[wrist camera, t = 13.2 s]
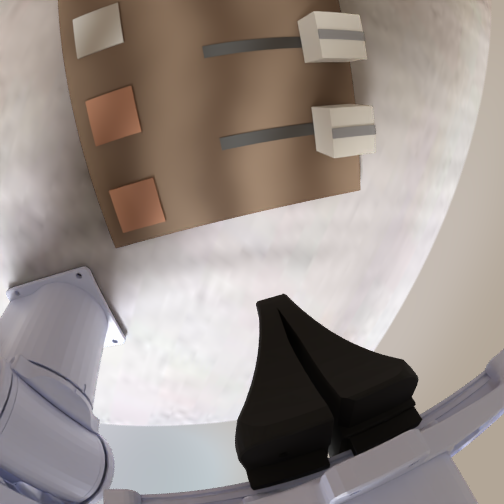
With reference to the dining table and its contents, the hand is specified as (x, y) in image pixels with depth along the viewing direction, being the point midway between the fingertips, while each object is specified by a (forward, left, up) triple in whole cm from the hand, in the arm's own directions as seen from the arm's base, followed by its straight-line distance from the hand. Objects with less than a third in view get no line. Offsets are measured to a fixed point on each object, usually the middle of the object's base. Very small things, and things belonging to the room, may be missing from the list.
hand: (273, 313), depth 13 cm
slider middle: (+7, +13, -8) cm, 17 cm away
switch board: (0, +12, -9) cm, 15 cm away
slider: (+7, +7, -8) cm, 13 cm away
